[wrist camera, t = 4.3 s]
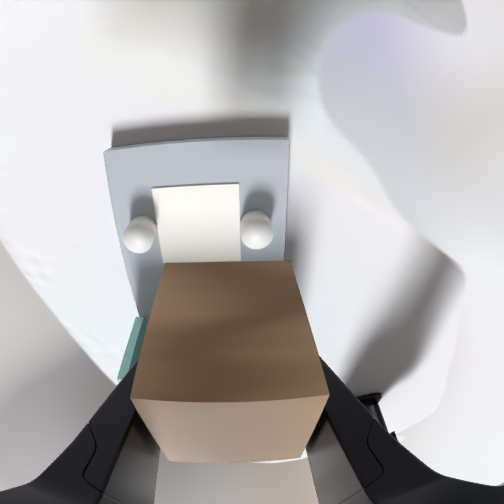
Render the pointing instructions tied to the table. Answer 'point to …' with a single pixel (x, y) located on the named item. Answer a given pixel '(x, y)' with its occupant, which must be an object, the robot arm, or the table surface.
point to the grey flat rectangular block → (197, 204)
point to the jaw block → (229, 364)
